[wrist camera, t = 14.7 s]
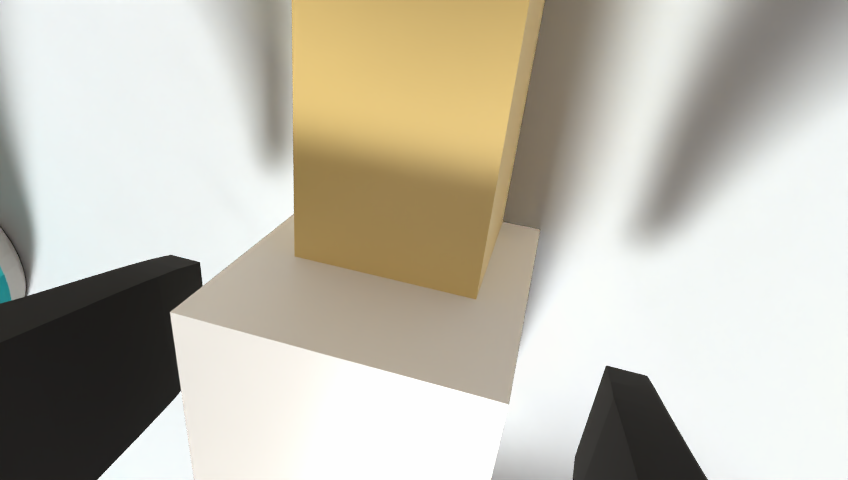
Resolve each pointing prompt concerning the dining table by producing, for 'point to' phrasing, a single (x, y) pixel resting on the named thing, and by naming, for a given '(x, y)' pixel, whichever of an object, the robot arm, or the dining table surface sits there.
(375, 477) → the plug
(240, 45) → the dining table surface
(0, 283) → the beverage can
